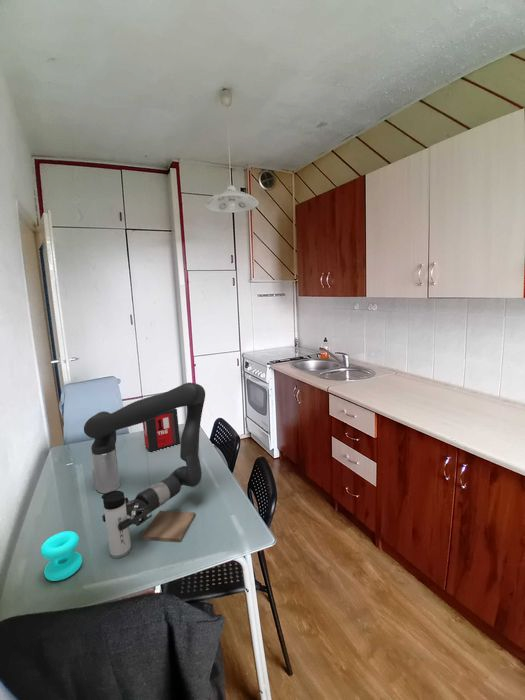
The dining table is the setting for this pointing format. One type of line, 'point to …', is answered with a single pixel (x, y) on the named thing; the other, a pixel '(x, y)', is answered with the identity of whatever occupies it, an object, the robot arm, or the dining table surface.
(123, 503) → the travel mug
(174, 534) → the walnut board
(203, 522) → the dining table surface
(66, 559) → the cyan spool
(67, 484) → the dining table surface
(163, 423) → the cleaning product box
